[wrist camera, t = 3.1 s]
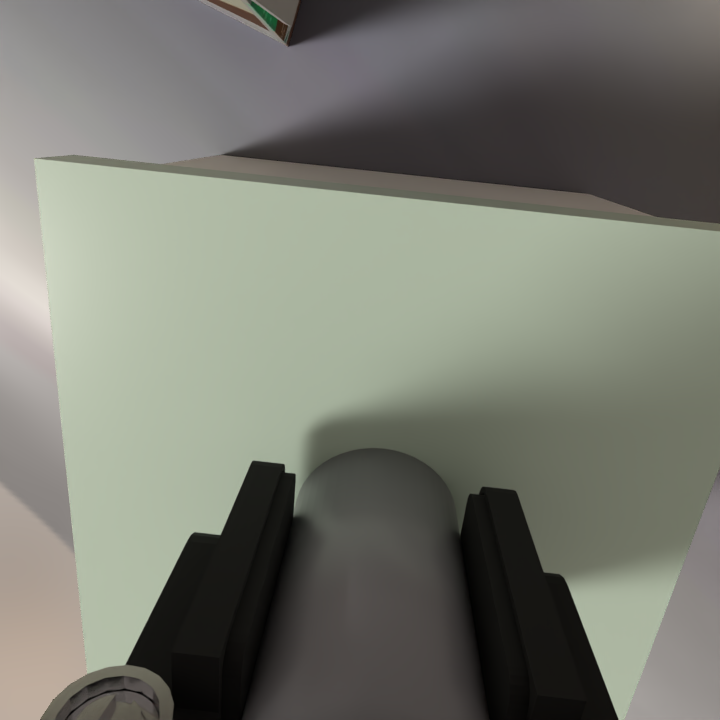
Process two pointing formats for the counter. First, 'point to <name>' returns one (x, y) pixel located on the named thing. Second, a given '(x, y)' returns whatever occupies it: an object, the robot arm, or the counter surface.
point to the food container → (262, 15)
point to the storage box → (407, 182)
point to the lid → (377, 412)
